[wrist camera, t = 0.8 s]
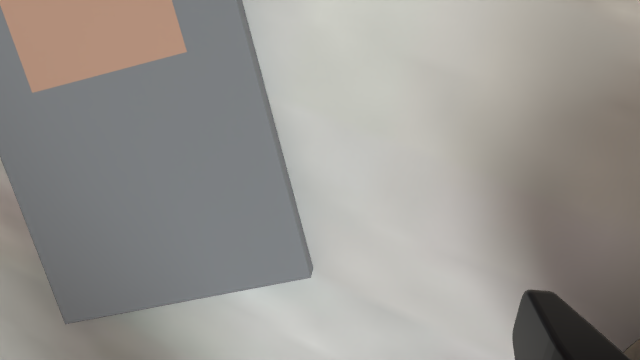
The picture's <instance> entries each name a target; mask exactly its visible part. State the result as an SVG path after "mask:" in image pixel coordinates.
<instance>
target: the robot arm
mask: <svg viewBox="0 0 640 360" xmlns="http://www.w3.org/2000/svg"><path fill="white" fill-rule="evenodd" d="M513 348H514V355H515V360H631V359H630V358H629V357H628V356H626V355H625V354H624V353H623V352H622V351H621V350H620V349H618V348H617V347H616V346H615V345H614V344H613V343H611V342H610V341H609V340H608V339H607V338H606V337H605V336H603V335H602V334H601V333H600V332H599V331H598V330H597V329H595V328H594V327H593V326H592V325H591V324H590V323H588V322H587V321H586V320H585V319H584V318H583V317H582V316H580V315H579V314H578V313H577V312H576V311H575V310H573V309H572V308H571V307H570V306H569V305H568V304H567V303H565V302H564V301H563V300H562V299H561V298H560V297H559V296H557V295H556V294H555V293H553V292H550V291H541V290H527V291H525V292H524V294H523V296H522V299H521V302H520V306H519V309H518V313H517V317H516V320H515V324H514V328H513Z"/></svg>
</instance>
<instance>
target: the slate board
mask: <svg viewBox="0 0 640 360" xmlns="http://www.w3.org/2000/svg"><path fill="white" fill-rule="evenodd" d="M0 157H1V160H2V162H3V165H4V167H5V170H6V173H7V175H8V178H9V180H10V183H11V185H12V188H13V191H14V193H15V196H16V198H17V201H18V203H19V206H20V209H21V211H22V214H23V216H24V219H25V221H26V224H27V227H28V229H29V232H30V234H31V237H32V239H33V242H34V245H35V247H36V250H37V252H38V255H39V257H40V260H41V263H42V265H43V268H44V270H45V273H46V275H47V278H48V281H49V283H50V286H51V288H52V291H53V294H54V296H55V299H56V301H57V304H58V306H59V309H60V312H61V314H62V317H63V319H64V322H65V324H69V323H74V322H79V321H84V320H90V319H95V318H100V317H106V316H111V315H116V314H121V313H127V312H132V311H137V310H143V309H148V308H153V307H158V306H164V305H169V304H174V303H179V302H185V301H190V300H195V299H201V298H206V297H211V296H216V295H222V294H227V293H232V292H237V291H243V290H248V289H253V288H259V287H264V286H269V285H274V284H280V283H285V282H290V281H295V280H301V279H306V278H311V275H312V271H313V266H312V262H311V258H310V254H309V251H308V247H307V243H306V239H305V236H304V232H303V228H302V224H301V221H300V217H299V213H298V209H297V206H296V202H295V198H294V194H293V191H292V187H291V183H290V179H289V175H288V172H287V168H286V164H285V160H284V157H283V153H282V149H281V145H280V142H279V138H278V134H277V130H276V127H275V123H274V119H273V115H272V112H271V108H270V104H269V100H268V97H267V93H266V89H265V85H264V82H263V78H262V74H261V70H260V67H259V63H258V59H257V55H256V52H255V48H254V44H253V40H252V37H251V33H250V29H249V25H248V22H247V18H246V14H245V10H244V6H243V3H242V0H0Z"/></svg>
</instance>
